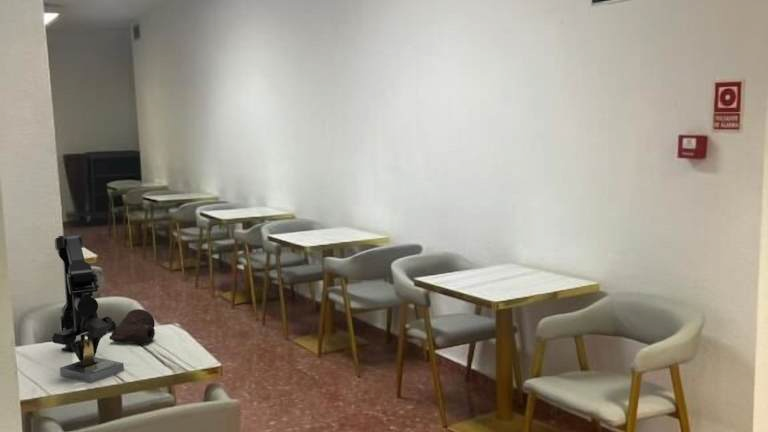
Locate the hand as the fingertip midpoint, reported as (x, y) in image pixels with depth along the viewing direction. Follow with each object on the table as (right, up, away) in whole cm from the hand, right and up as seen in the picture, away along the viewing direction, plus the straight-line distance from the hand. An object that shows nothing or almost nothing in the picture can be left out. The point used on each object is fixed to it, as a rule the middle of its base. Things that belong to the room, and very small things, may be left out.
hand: (87, 358), depth 224 cm
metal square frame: (+2, -4, -1) cm, 5 cm away
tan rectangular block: (0, -1, 0) cm, 1 cm away
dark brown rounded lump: (+4, 0, +35) cm, 35 cm away
